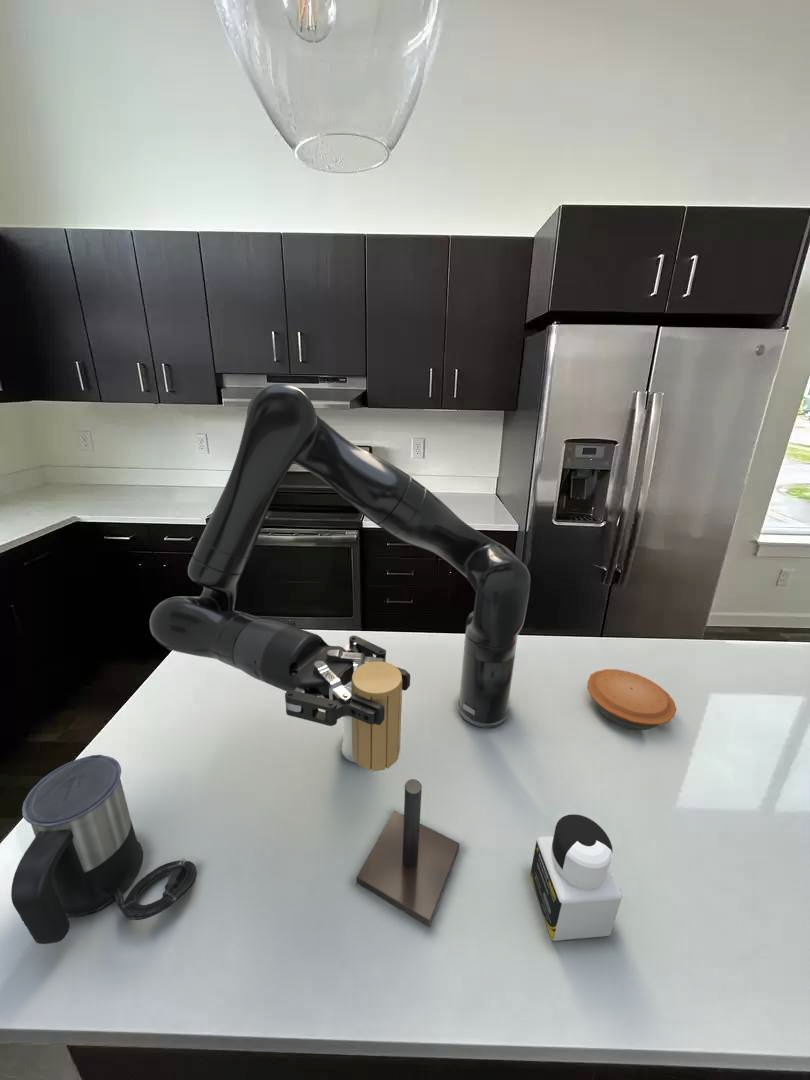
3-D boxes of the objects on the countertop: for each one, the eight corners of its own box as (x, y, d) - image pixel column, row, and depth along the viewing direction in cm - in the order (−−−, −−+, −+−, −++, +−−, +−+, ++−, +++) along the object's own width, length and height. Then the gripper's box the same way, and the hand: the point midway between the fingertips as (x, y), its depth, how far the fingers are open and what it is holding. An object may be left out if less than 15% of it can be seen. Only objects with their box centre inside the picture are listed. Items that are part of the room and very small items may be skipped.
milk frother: (67, 852, 56) (37, 767, 51) (200, 810, 62) (184, 730, 57) (28, 985, 44) (-18, 890, 39) (197, 916, 50) (177, 826, 45)
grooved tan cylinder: (368, 727, 55) (368, 655, 51) (407, 744, 53) (410, 670, 49) (343, 758, 51) (341, 682, 47) (385, 778, 48) (387, 700, 44)
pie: (649, 686, 90) (655, 666, 89) (687, 743, 76) (695, 721, 74) (575, 680, 92) (578, 660, 90) (598, 735, 77) (603, 713, 76)
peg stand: (394, 816, 62) (395, 741, 57) (459, 849, 58) (467, 771, 53) (356, 883, 53) (354, 802, 49) (429, 927, 49) (435, 843, 44)
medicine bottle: (528, 874, 55) (541, 807, 51) (581, 870, 55) (598, 803, 51) (551, 942, 48) (568, 871, 44) (611, 937, 49) (633, 866, 45)
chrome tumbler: (373, 769, 69) (373, 694, 64) (333, 761, 70) (330, 686, 65) (384, 736, 76) (385, 666, 70) (346, 729, 77) (345, 660, 72)
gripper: (232, 659, 47) (362, 712, 40) (314, 604, 59) (424, 637, 52) (239, 713, 50) (362, 771, 43) (316, 650, 62) (421, 687, 55)
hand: (396, 697), depth 48 cm, fingers closed on grooved tan cylinder, 5 cm apart
